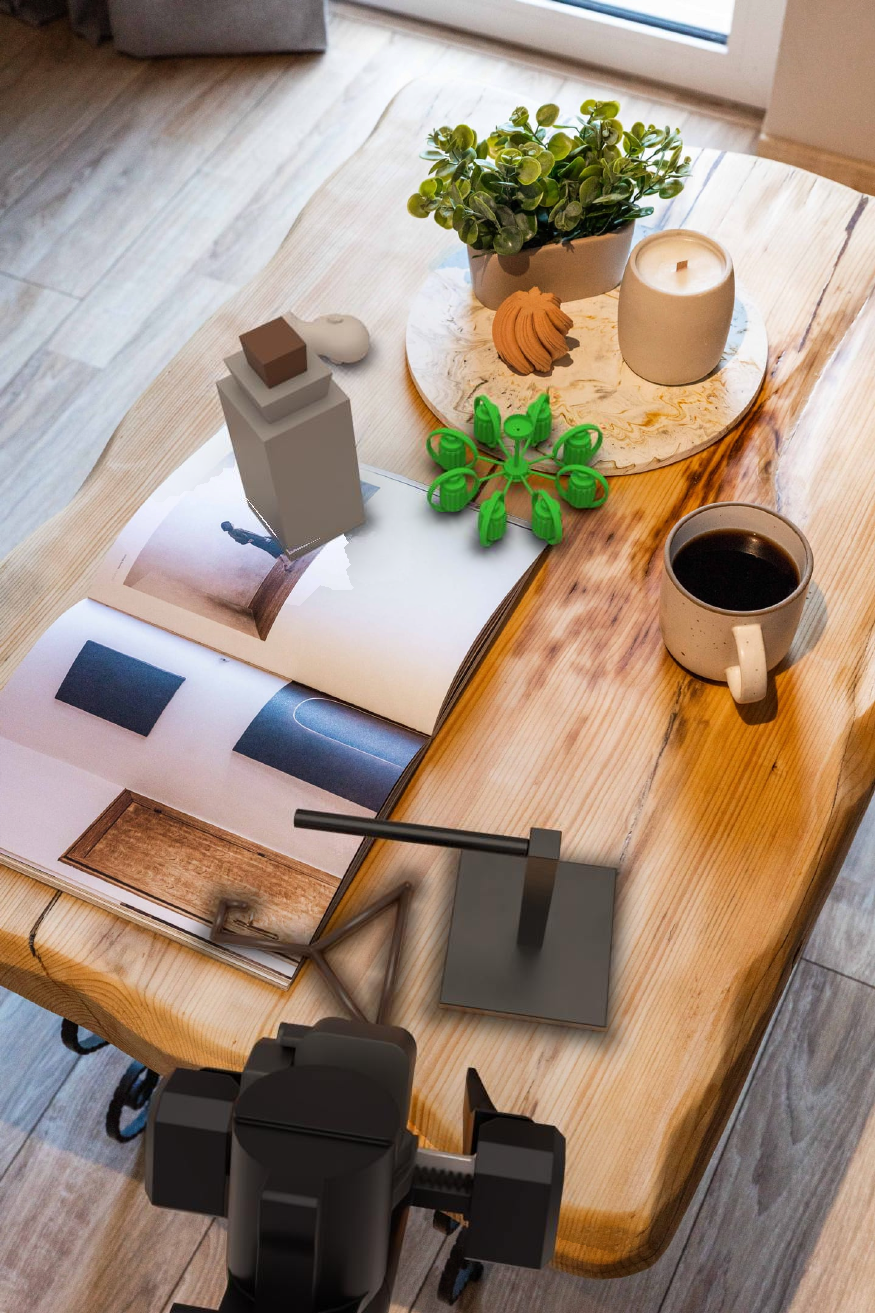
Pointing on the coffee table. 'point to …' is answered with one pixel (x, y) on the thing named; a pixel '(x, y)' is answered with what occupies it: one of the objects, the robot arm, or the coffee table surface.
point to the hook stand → (514, 922)
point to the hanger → (329, 940)
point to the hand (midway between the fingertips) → (384, 1062)
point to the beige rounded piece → (333, 336)
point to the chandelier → (516, 468)
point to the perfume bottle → (292, 439)
